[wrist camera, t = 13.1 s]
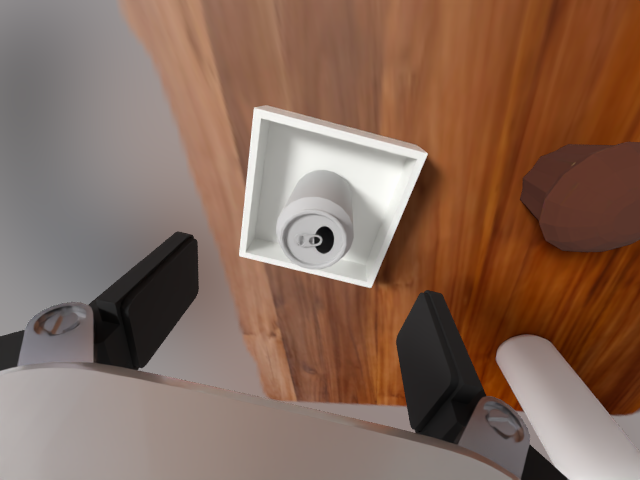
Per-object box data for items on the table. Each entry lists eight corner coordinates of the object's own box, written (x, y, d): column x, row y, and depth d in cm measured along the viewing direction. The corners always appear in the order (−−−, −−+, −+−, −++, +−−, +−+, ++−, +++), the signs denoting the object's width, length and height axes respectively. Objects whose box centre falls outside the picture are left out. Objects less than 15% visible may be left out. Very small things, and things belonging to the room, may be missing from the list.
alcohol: (499, 372, 49) (674, 693, 23) (488, 340, 46) (679, 676, 19) (554, 360, 46) (822, 707, 20) (546, 325, 43) (858, 690, 17)
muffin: (590, 107, 29) (697, 115, 20) (636, 178, 32) (747, 211, 23) (487, 187, 34) (537, 221, 25) (535, 241, 36) (595, 289, 28)
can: (348, 225, 36) (349, 280, 26) (293, 220, 37) (272, 272, 26) (355, 170, 33) (359, 208, 22) (294, 165, 33) (270, 199, 23)
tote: (416, 145, 32) (427, 153, 27) (368, 266, 41) (371, 288, 36) (267, 105, 31) (254, 107, 27) (250, 237, 40) (239, 256, 35)
